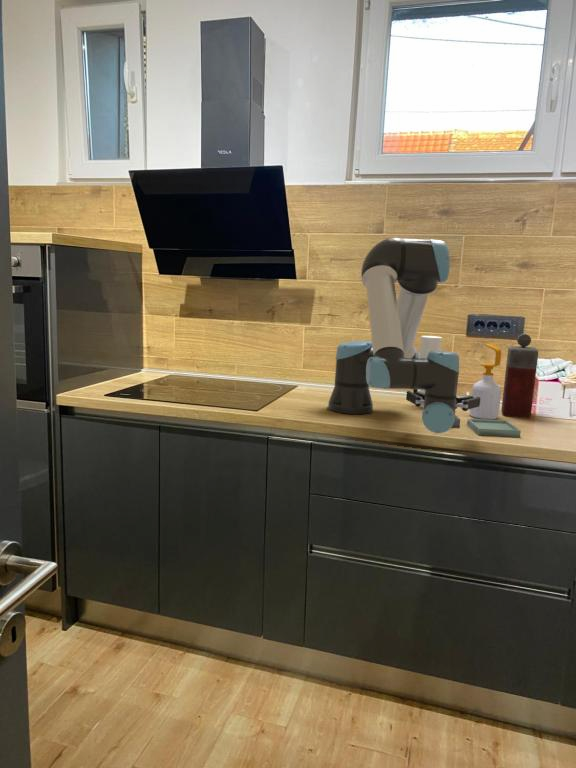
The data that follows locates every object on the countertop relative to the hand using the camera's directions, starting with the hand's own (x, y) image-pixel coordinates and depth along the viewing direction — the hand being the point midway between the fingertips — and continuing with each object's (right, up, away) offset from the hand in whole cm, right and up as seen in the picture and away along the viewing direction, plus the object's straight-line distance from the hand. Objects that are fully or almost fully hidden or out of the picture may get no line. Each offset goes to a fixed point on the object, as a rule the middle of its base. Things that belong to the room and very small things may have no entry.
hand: (443, 394), depth 169 cm
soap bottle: (+20, -8, +23) cm, 31 cm away
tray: (+16, -11, +4) cm, 20 cm away
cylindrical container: (+3, -5, +36) cm, 37 cm away
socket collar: (+2, -9, +12) cm, 15 cm away
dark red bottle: (+33, -7, +29) cm, 45 cm away
